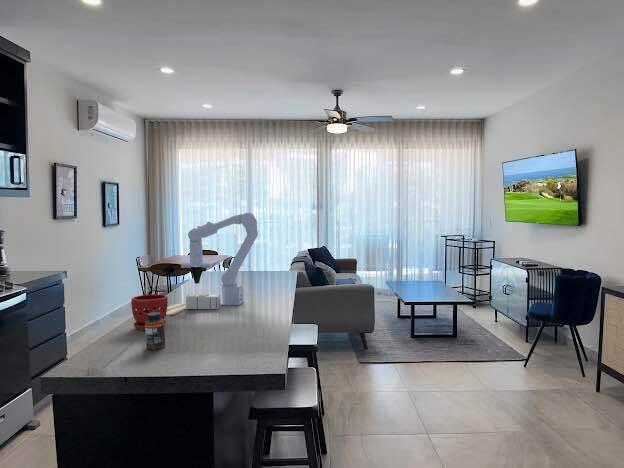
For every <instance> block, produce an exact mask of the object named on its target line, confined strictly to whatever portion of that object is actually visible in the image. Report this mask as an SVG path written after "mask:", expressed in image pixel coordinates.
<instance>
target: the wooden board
mask: <svg viewBox="0 0 624 468" xmlns="http://www.w3.org/2000/svg"><path fill="white" fill-rule="evenodd" d="M186 310H188V309H186V303H170V304H168V305H167V312H166V316H167V317H169V316H173V317H174V316H176V315H178V314H180V313H182V312H184V311H186ZM166 316H165V317H166Z"/></svg>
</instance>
